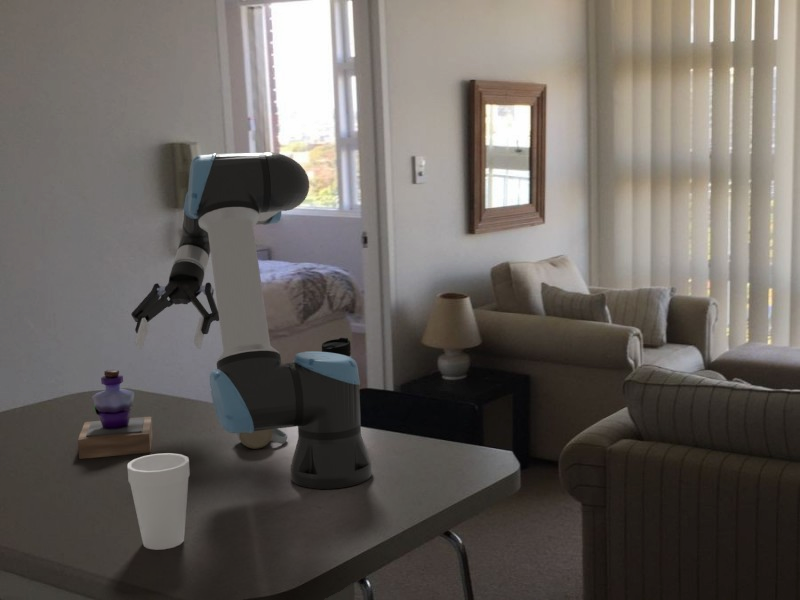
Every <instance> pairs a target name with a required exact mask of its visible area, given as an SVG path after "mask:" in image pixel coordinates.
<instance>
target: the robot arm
mask: <svg viewBox="0 0 800 600" xmlns="http://www.w3.org/2000/svg"><path fill="white" fill-rule="evenodd" d="M187 187H188V191H187V193H186V194H185V197H184V198H185V199H184V203H183V221H182V230H181V236H180V240H179V244H178V248H177V251H176V253H175V256H174V260H173V263H172V264H173V265H172V267H171V270H170V274H169V278H168V283H167V284H166V286H165V285H160V284H159V283H154V284H153V286H152V288H151V291H149V293H148V294H147V295H146V296H145V297H144V299H143V300H142V301H141V302H140V303H139V304H138V305H137V307H135V309H133V311H132V312H131V317H132V318H133V320H134V322H135V323H136V326H135V328H134V331H135V333H136V336H135V341H134V344H135V345H136V346H137V348H138V350H143V347H144V344H145V341H146V337H147V333H148V330H149V328H150V324H149V322H150V321H151V320H153V319H154V318H155V317H156V316H157V315H159V314H160V313H162V312H163V311H165V309H166V308H170V307H171V306H173V305H188V304H189V303H192V305H193V306H194V307H195V308H196V310H197V311H198V313H199V314H200V315H201V316H200V317H199V319H198V323H197V327H196V331H195V335H194V338H193V343H194V346H196V348H197V349H201V347H202V344H203V342H204V341H203V340H204V337H205V335H207V334H209V332H210V328H211V324H212V323H213V322H215V321H216V322H219V327H220V337H221V341H222V342H221V343H222V354H221V355H220V356H219V357H218V358H217V360H216V369H213V370H212V371H211V372H210V374H209V386H210V390H211V391H210V392H211V393H210V394H211V399H212V403H213V407H214V411H215V415H216V417H217V420H218V422H219V424H220V426H221V427H222V429H223V430H224V431H225V432H227V433H230V434H237V433H246V432H247V433H253V432H254V431H262V430H269V429H284V428H293V427H297V429H298V430H297V434H298V436H297V441H296V442H297V443H296V446H295V449H294V453H293V456H292V460H291V464H290V480H291V481H292V483H294V484H295V485H298V486H300V487H304V488H309V489H318V490H322V489H323V490H328V489H329V490H330V489H332V490H333V489H342V488H347V487H352V486H353V487H354V486H356V485H359V484H361V483H364V482H366V481H368V480H369V479H370V478H371V477H372V475H373V474H372V473H373V472H372V471H373V469H372V468H373V467H372V466H373V465H372V460H371V458H370V454H369V452H368V450H367V447H366V444H365V441H364V439H363V436H362V430H361V429H362V428H361V427H362V426H361V401H360V399H361V397H360V385H361V381H360V376H359V375H360V374H359V366H358V363H357V362H356V360H355V359H354V358H352V357H351V358H350V357H348V356H345V355H341V354H336V353H329V352H322V351H303V352H302V351H301V352H298V353H295V355H294V358H293V362H287V363H284V362H283V363H282V358H281V353H280V351H278V350H277V349H275V347H273V346H272V345H271V340H270V333H269V328H268V327H269V325H268V320H267V312H266V306H265V299H264V298H265V297H264V292H263V286H262V284H263V283H262V280H261V272H260V264H259V258H258V253H257V246H256V245H257V244H256V236H255V231H254V228H255V226H256V225H270V224H276V223H279V222H280V221H281V217H282V212H285V211H286V212H287V211H291V210H294V209H295V208H298V207H299V206H300V205H301V204H302V203H304V202H305V200H306V199H307V197H308V194H309V191H310V181H309V176H308V173H307V172H306V170H305V169H304V168H303V166H302V164H300V162H298V161H296V160H295V159H293V158H291V157H289V156H286V155H285V154H283V153H282V154H281V153H278V152H270V151H266V152H265V151H263V152H238V153H236V152H235V153H217V152H214V153H211V154H198V155H196V156H195V157H193V159H192V160H191V163H190V166H189V175H188V186H187ZM209 259H211V266H212V272H213V273H212V274H213V281H214V282H213V283H214V287H213V286H212V283H211V282H206V283H205V285H204V284H203V282H204V279H205V274H206V270H207V268H208V267H207V266H208V262H209ZM214 288H215V289H214ZM214 291H215V298H216V301H215V298H214ZM201 293H203V295H205V297H206V300H207V303H208V306H209V308H210V311H211V312H210V313H209V312H208V311H207V309H206V308H205V307H204V305H203V304H202V302H201V301H200V300H199V299H198V298H197V297H198V296H199V295H201ZM168 298H169V299H168Z"/></svg>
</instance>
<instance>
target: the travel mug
mask: <svg viewBox="0 0 800 600" xmlns="http://www.w3.org/2000/svg"><path fill="white" fill-rule="evenodd" d="M351 351H352V350H351V341H350V340H349V337H339V338H337V339H335V338H334V339H329V340H326V341H325V342H323V343H322V344H321V352H329V353H336V354H341V355H345V356H348V357H350V358H352V354H351Z"/></svg>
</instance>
